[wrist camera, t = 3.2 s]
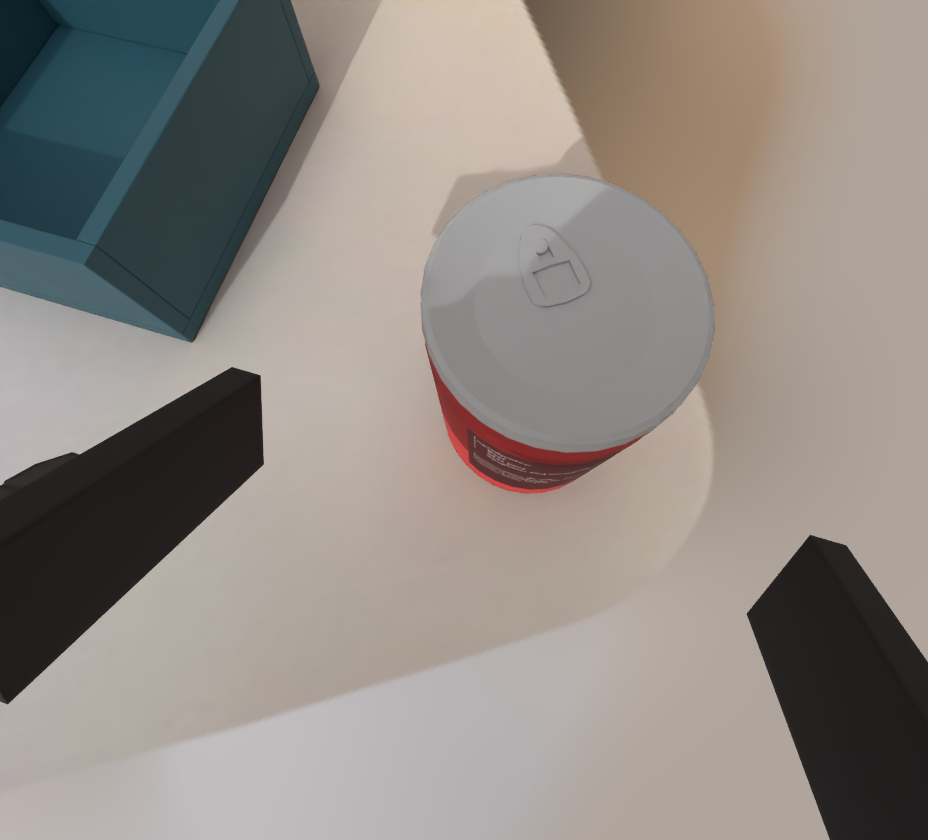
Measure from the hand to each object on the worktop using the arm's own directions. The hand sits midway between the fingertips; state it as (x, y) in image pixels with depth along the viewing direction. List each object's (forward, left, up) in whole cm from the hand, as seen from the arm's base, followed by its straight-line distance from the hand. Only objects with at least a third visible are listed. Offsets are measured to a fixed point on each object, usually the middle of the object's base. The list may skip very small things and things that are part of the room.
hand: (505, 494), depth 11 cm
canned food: (+3, -4, -11) cm, 12 cm away
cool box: (+28, +7, -10) cm, 31 cm away
